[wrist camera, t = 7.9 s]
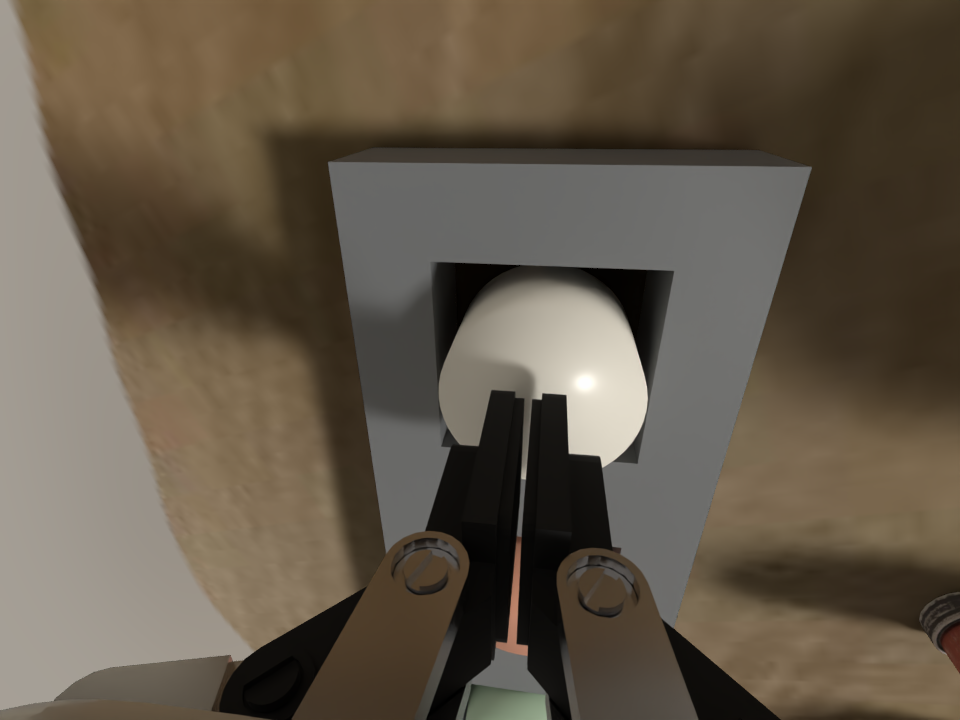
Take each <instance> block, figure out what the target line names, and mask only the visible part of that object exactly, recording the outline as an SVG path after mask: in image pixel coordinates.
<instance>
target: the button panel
mask: <svg viewBox="0 0 960 720" xmlns="http://www.w3.org/2000/svg"><path fill="white" fill-rule="evenodd" d="M328 166H329V173H330V180H331V187H332V193H333V200H334V207H335V213H336V220H337V227H338V234H339V240H340V247H341V254H342V261H343V267H344V274H345V281H346V287H347V294H348V301H349V308H350V314H351V321H352V328H353V334H354V341H355V348H356V355H357V361H358V368H359V375H360V381H361V388H362V395H363V402H364V408H365V415H366V422H367V428H368V435H369V442H370V449H371V455H372V462H373V469H374V476H375V482H376V489H377V496H378V502H379V509H380V516H381V523H382V529H383V536H384V543H385V549H386V553H387V552H388V551H389V550H390V548H391V547H392V546H393V545H394V544H395V543H397V542H398V541H399V540H401V539H402V538H404V537H406V536H409V535H411V534H414V533H417V532H424V531H425V530H426V526H427V523H428V520H429V517H430V513H431V510H432V507H433V504H434V500H435V497H436V494H437V490H438V487H439V484H440V481H441V477H442V474H443V471H444V468H445V464H446V461H447V458H448V455H449V451H450V449H451V446H452V445H453V444H457V445H460V444H459V443H458V442H457V440H456V439H455V438H454V437H453V435H452V433H451V432H450V430H449V429H448V427H447V425H446V422H445V420H444V418H443V415H442V411H441V408H440V402H439V380H440V375H441V371H442V368H443V365H444V362H445V360H446V358H447V355H448V353H449V351H450V348H451V346H452V344H453V341H454V339H455V336H456V334H457V303H456V274H455V263H480V264H507V265H534V266H561V267H588V268H614V269H641V270H647V275H646V282H645V288H644V294H643V300H642V306H641V312H640V318H639V325H638V331H637V337H636V343H635V344H636V348H637V351H638V355H639V358H640V362H641V365H642V369H643V372H644V376H645V381H646V385H647V396H648V401H647V410H646V414H645V418H644V422H643V424H642V426H641V428H640V431H639V433H638V434H637V436H636V437H635V439H634V441H633V442H632V443H631V445H630V446H629V447H628V448H627V449H626V450H625V451H624V452H623V453H622V454H621V455H620V456H619V457H618V458H616V459H615V460H614V461H612V462H611V463H609V464H608V465H606V466H605V467H603V468H602V471H603V479H604V487H605V495H606V502H607V510H608V518H609V526H610V534H611V541H612V549H613V552H616V553H619V554H621V555H622V556H624V557H625V558H627V559H629V560H630V561H632V562H633V563H634V564H635V565H636V566H637V567H638V568H639V569H640V570H641V571H642V573H643V575H644V577H645V578H646V580H647V582H648V584H649V586H650V589H651V592H652V595H653V597H654V600H655V603H656V606H657V608H658V611H659V614H660V616H661V618H662V619H663V620H664V621H665V622H666V623H668V624H669V625H670V626H671V627H672V628H674V625H675V622H676V618H677V615H678V612H679V608H680V605H681V602H682V598H683V595H684V592H685V588H686V585H687V582H688V578H689V575H690V572H691V568H692V565H693V562H694V558H695V555H696V552H697V548H698V545H699V542H700V538H701V535H702V532H703V528H704V525H705V522H706V518H707V515H708V512H709V509H710V505H711V502H712V499H713V495H714V492H715V489H716V485H717V482H718V479H719V475H720V472H721V469H722V465H723V462H724V459H725V455H726V452H727V449H728V445H729V442H730V439H731V435H732V432H733V429H734V425H735V422H736V419H737V415H738V412H739V409H740V405H741V402H742V399H743V395H744V392H745V389H746V385H747V382H748V379H749V375H750V372H751V369H752V365H753V362H754V359H755V355H756V352H757V349H758V345H759V342H760V339H761V335H762V332H763V329H764V325H765V322H766V319H767V315H768V312H769V309H770V305H771V302H772V299H773V295H774V292H775V289H776V285H777V282H778V279H779V275H780V272H781V269H782V265H783V262H784V259H785V255H786V252H787V249H788V245H789V242H790V239H791V235H792V232H793V229H794V225H795V222H796V219H797V215H798V212H799V209H800V205H801V202H802V199H803V195H804V192H805V189H806V185H807V182H808V179H809V175H810V172H811V169H812V167H810V166H807V165H804V164H801V163H798V162H795V161H792V160H788V159H785V158H782V157H779V156H776V155H773V154H770V153H767V152H763V151H760V150H672V149H513V148H370V149H367V150H364V151H361V152H358V153H354V154H351V155H348V156H345V157H342V158H339V159H336V160H333V161H329V162H328ZM525 483H526V480H525V479H521V493H520V507H519V518H518V529H517V536H518V537H522V521H523V508H524V495H525ZM471 684H476V685H482V686H489V687H495V688H502V689H509V690H515V691H522V692H529V693H535V694H542V695H545V690H544V689H543V688H542V687H541V686H540V684H539V683H538V682H537V681H536V680H535V678H534V677H533V676H532V675H531V674H530V672H529V671H528V670H527V656H524V655H519V654H514V653H510V652H506V651H504V650H501V649H498V648H496V649H495V658H494V661H493V660H491V665H490V666H488V667H487V668H486V669H485V670H483V671H482V672H481V673H479V674H478V675H477V676H476V677H474V678H473V679H472V683H471ZM468 701H469V698H468ZM468 701H467V705H466V708H465V712H464V715H463V719H462V720H466V714H467V707H468Z"/></svg>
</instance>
